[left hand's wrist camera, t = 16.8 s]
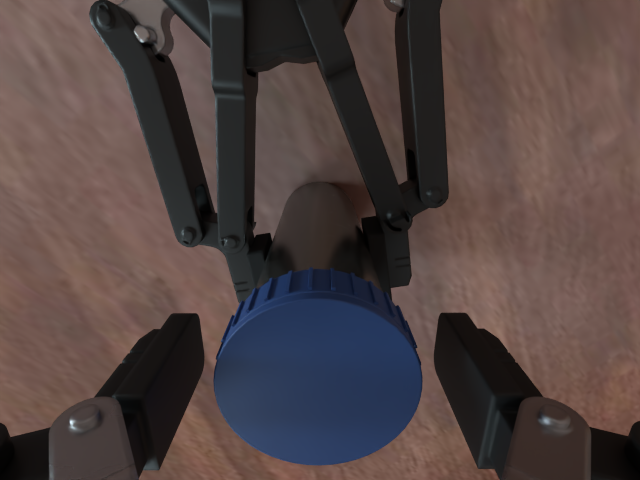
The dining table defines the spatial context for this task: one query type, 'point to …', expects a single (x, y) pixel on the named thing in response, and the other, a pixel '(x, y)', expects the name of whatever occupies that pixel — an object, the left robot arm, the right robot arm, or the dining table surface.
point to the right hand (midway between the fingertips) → (335, 344)
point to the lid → (318, 368)
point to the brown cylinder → (319, 236)
